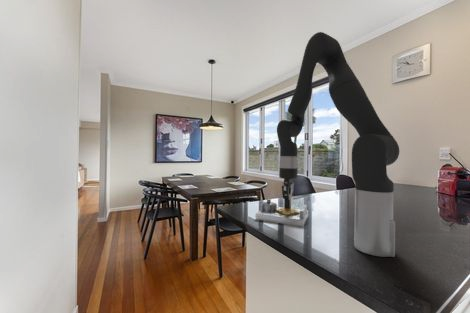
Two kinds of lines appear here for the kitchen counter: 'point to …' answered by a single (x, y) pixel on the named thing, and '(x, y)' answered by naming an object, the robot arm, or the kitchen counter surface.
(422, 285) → the kitchen counter surface
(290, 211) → the planet gear
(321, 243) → the kitchen counter surface
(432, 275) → the kitchen counter surface
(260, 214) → the carrier
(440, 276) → the kitchen counter surface
